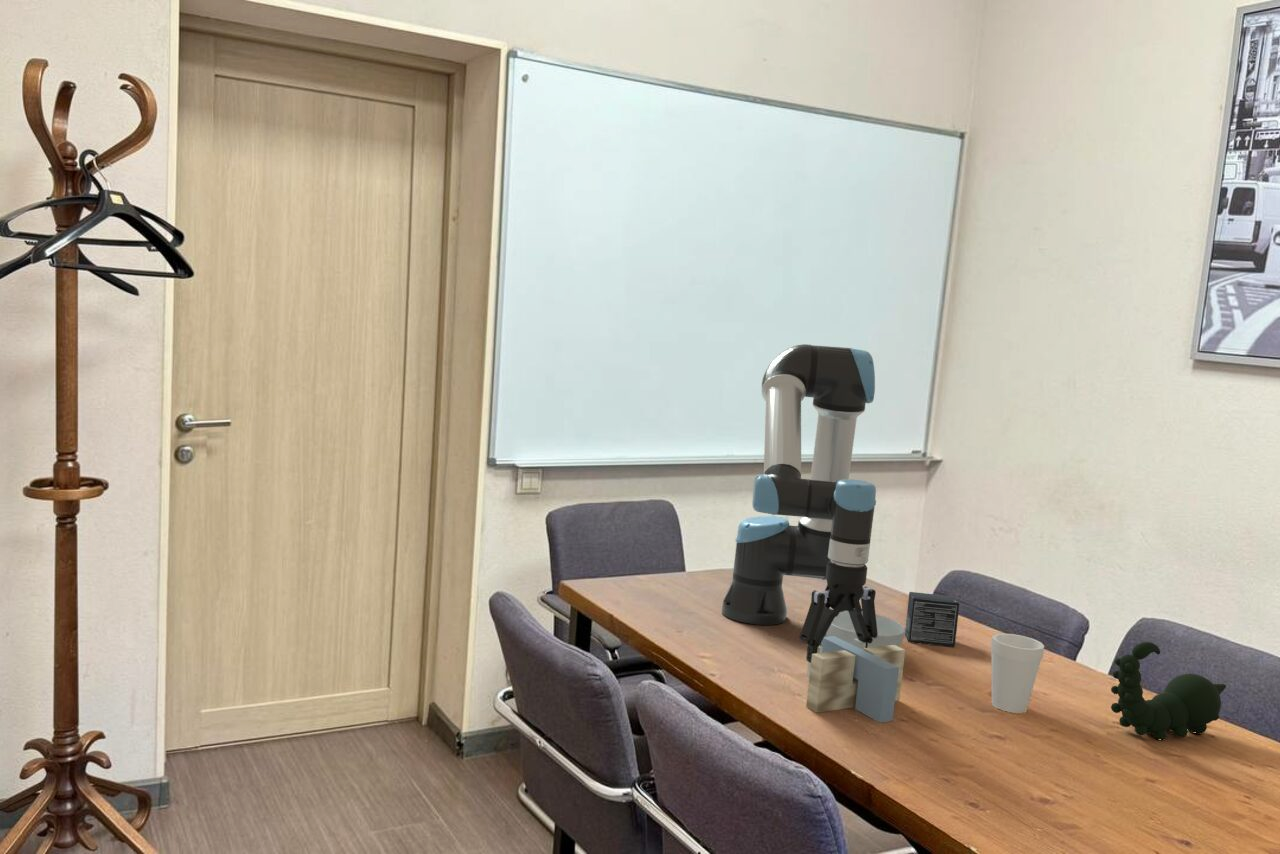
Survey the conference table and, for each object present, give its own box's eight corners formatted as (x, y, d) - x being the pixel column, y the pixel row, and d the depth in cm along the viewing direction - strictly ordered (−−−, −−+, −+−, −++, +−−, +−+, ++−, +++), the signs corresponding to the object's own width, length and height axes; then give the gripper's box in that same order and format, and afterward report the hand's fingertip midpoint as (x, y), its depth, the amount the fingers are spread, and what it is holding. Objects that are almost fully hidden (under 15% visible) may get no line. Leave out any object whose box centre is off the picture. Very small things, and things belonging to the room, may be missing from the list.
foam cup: (1034, 704, 209) (1043, 639, 207) (1035, 720, 200) (1045, 653, 198) (983, 694, 212) (992, 630, 210) (982, 709, 203) (991, 643, 201)
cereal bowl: (817, 658, 225) (820, 625, 224) (825, 636, 241) (828, 605, 240) (899, 672, 220) (903, 639, 220) (902, 649, 236) (906, 618, 236)
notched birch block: (816, 712, 194) (822, 659, 193) (806, 706, 196) (812, 653, 195) (899, 700, 204) (905, 649, 202) (888, 695, 206) (894, 644, 205)
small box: (950, 639, 247) (955, 595, 246) (955, 648, 241) (961, 603, 239) (903, 634, 248) (908, 590, 247) (907, 642, 242) (913, 597, 240)
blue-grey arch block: (816, 687, 207) (821, 637, 206) (828, 685, 209) (834, 635, 207) (880, 722, 192) (886, 668, 190) (892, 720, 193) (899, 667, 192)
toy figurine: (1134, 756, 191) (1243, 737, 199) (1141, 654, 188) (1251, 639, 196) (1096, 734, 200) (1202, 717, 208) (1103, 637, 197) (1209, 623, 205)
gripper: (813, 570, 193) (800, 689, 196) (905, 564, 205) (892, 677, 207) (787, 559, 200) (775, 674, 202) (879, 554, 211) (866, 664, 214)
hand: (834, 676), depth 205 cm, fingers open, 10 cm apart
